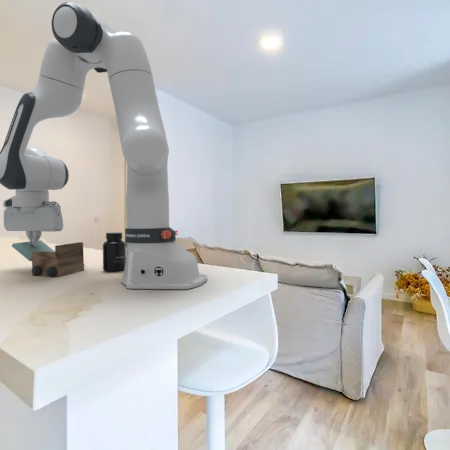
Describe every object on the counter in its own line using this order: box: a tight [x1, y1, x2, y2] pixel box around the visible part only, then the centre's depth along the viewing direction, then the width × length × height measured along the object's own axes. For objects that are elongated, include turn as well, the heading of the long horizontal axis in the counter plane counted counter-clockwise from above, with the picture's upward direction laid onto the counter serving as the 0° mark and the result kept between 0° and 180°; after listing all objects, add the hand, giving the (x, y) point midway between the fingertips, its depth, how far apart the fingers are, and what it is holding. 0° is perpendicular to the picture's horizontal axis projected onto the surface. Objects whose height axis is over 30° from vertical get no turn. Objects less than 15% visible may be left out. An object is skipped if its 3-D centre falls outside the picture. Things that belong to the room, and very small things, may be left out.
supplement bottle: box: [102, 232, 127, 273], centre depth 97 cm, size 7×7×12 cm
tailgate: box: [11, 239, 55, 262], centre depth 97 cm, size 2×10×8 cm
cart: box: [31, 241, 85, 278], centre depth 95 cm, size 10×12×9 cm
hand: (34, 245), depth 97 cm, fingers closed, pressing on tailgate
